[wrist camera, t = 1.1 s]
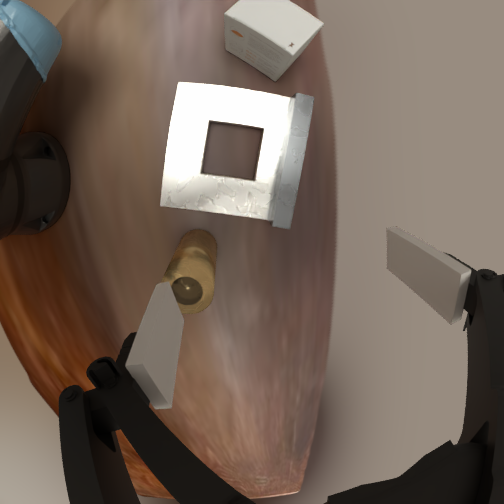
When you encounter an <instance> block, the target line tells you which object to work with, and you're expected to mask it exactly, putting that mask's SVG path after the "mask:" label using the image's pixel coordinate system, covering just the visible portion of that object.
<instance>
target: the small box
mask: <svg viewBox="0 0 504 504" xmlns="http://www.w3.org/2000/svg"><path fill="white" fill-rule="evenodd" d="M323 25H324V23H323V22H321V21H320V20H318V19H317V18H316V17H314V16H313V15H311V14H310V13H308V12H307V11H305V10H304V9H302V8H300V7H299V6H297V5H296V4H294V3H292V2H291V1H289V0H239V1H238V2H237V3H235V4H234V5H233V6H232V7H231V8H230V9H229V10H228V11H226V12H225V13H224V27H225V50H227V51H228V52H230V53H232V54H233V55H235V56H237V57H238V58H240V59H242V60H243V61H245V62H246V63H248V64H250V65H251V66H253V67H254V68H256V69H257V70H259V71H260V72H262V73H263V74H265V75H266V76H268V77H269V78H271V79H272V80H273V81H275V82H276V81H277V80H278V79H279V78H280V76H281V75H282V74H283V73H284V72H285V71H286V70H287V69H288V68H289V67H290V66H291V64H292V63H293V62H294V61H295V60H296V59H297V58H298V57H299V56H300V54H301V53H302V52H303V51H304V49H305V48H306V47H307V45H308V44H309V43H310V42H311V40H312V39H313V38H314V36H315V35H316V34H317V33H318V32H319V30H320V29H321V28H322V27H323Z"/></svg>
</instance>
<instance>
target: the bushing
mask: <svg viewBox="0 0 504 504" xmlns="http://www.w3.org/2000/svg"><path fill="white" fill-rule="evenodd" d="M216 257H217V243H216V240H215V238H214V237H213V236H212V235H211V234H210V233H209V232H207V231H204V230H200V229H195V230H191V231H189V232H187V233H186V234H185V235H184V236H183V237H182V239H181V241H180V243H179V245H178V247H177V249H176V251H175V253H174V256H173V258H172V260H171V262H170V264H169V266H168V268H167V270H166V272H165V275H164V277H163V279H162V281H161V283H163V282H168V281H169V283H170V286H171V288H172V291H173V294H174V296H175V299H176V301H177V304H178V306H179V309H180V311H181V313H183V314H195V313H199V312H201V311H203V310H204V309H206V308H207V307H208V306H209V305H210V303H211V301H212V299H213V295H214V282H215V269H216Z"/></svg>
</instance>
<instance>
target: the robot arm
mask: <svg viewBox="0 0 504 504" xmlns="http://www.w3.org/2000/svg"><path fill="white" fill-rule="evenodd" d="M61 46H62V38H61V35H60V33H59V31H58V30H57V28H56V27H55V26H54V25H53V24H52V23H51V22H50V21H49V20H48V19H47V18H45V17H44V16H43V15H42V14H40V13H39V12H38V11H36V10H35V9H33V8H32V7H30V6H29V5H27V4H25V3H24V2H22V1H20V0H0V240H1V239H3V238H4V237H6V236H8V235H10V234H12V235H31V234H36V233H39V232H42V231H43V230H45V229H47V228H49V227H51V226H52V225H53V224H54V223H55V222H56V221H57V220H58V219H59V217H60V216H61V214H62V213H63V211H64V208H65V206H66V203H67V200H68V195H69V189H70V171H69V165H68V161H67V157H66V155H65V152H64V150H63V148H62V147H61V145H60V144H59V142H58V141H57V140H56V139H55V138H54V137H52V136H51V135H49V134H47V133H44V132H27V133H24V134H21V135H19V133H20V131H21V128H22V126H23V124H24V121H25V119H26V117H27V114H28V112H29V110H30V108H31V106H32V104H33V102H34V100H35V98H36V96H37V94H38V92H39V90H40V88H41V86H42V84H43V83H45V81H46V79H47V74H48V72H49V70H50V68H51V66H52V65H53V63H54V61H55V59H56V57H57V56H58V54H59V52H60V50H61ZM387 269H388V270H389V271H390V272H392V273H393V274H394V275H395V276H396V277H398V278H399V279H400V280H401V281H403V282H404V283H405V284H406V285H407V286H408V287H409V288H411V289H412V290H413V291H414V292H415V293H416V294H417V295H419V296H420V297H421V298H422V299H423V300H424V301H425V302H427V303H428V304H429V305H430V306H431V307H432V308H433V309H434V310H436V312H438V313H439V314H440V315H441V316H442V317H443V318H444V319H445V320H446V321H447V322H448V323H449V324H450V325H452V324H453V323H455V322H457V321H459V320H460V319H461V317H462V313H463V309H465V310H466V311H467V312H468V314H467V318H466V322H465V325H464V329H463V331H465V329H466V328H467V338H468V379H467V396H466V407H465V416H464V424H463V430H462V434H461V437H460V439H459V441H458V443H457V444H456V445H453V444H452V442H451V441H450V440H449V441H448V442H446V443H444V444H443V445H441V446H440V447H438V448H436V449H435V450H433V451H431V452H430V453H428V454H426V455H425V456H423V457H422V458H421V459H420V460H419V461H418V462H417V463H416V464H414V465H413V466H412V467H411V468H410V469H408V470H407V471H406V472H405V473H403V474H402V475H401V476H399V477H397V478H394V479H390V480H385V481H381V482H375V483H371V484H364V485H360V486H358V487H355V488H352V489H349V490H347V491H343V492H340V493H337V494H334V495H331V496H328V500H327V502H326V503H324V504H504V274H502V275H497V273H495V272H494V271H492V270H489V269H481V270H478V271H476V270H474V269H473V268H471V267H470V266H468V265H467V264H465V263H464V262H461V261H460V260H459V259H456V258H455V257H454V256H452V255H450V254H447V253H444V252H442V251H440V250H438V249H437V248H435V247H433V246H432V245H430V244H428V243H426V242H425V241H423V240H421V239H419V238H417V237H416V236H414V235H412V234H410V233H408V232H406V231H405V230H403V229H401V228H399V227H397V226H395V227H390V228H387ZM183 325H184V319H183V316H182V314H181V311H180V309H179V306H178V304H177V301H176V299H175V296H174V294H173V291H172V288H171V286H170V283H169V281H168V282H163V283H159V284H156V287H155V289H154V291H153V294H152V296H151V299H150V301H149V303H148V306H147V308H146V311H145V313H144V316H143V319H142V321H141V324H140V326H139V329H138V332H134V333H130V334H129V336H128V337H127V338H126V339H125V340H124V343H123V345H122V349H121V350H120V354H119V355H118V358H117V360H116V363H115V361H114V360H113V359H112V358H111V357H101V358H99V359H97V360H95V361H94V362H92V363H91V364H90V366H89V367H88V369H87V372H86V373H87V377H88V378H89V380H90V381H91V382H92V384H93V385H94V386H95V387H96V388H95V389H92V390H89V391H86V392H84V391H83V389H82V388H81V387H80V386H78V385H72V386H69V387H67V388H66V389H64V390H63V391H62V393H61V395H60V397H59V427H60V441H61V452H62V459H63V460H62V461H63V468H64V475H65V481H66V486H67V492H68V497H69V501H70V504H140V501H139V499H138V497H137V494H136V492H135V489H134V487H133V484H132V481H131V479H130V476H129V473H128V471H127V468H126V465H125V462H124V459H123V456H122V453H121V449H120V446H119V443H118V439H117V436H116V432H115V431H116V430H120V429H121V430H122V432H123V433H124V435H125V436H126V438H127V439H128V441H129V442H130V443H131V445H132V446H133V448H134V449H135V450H136V452H137V453H138V455H139V456H140V457H141V459H142V460H143V461H144V463H145V464H146V465H147V466H148V468H149V469H150V470H151V471H152V473H153V474H154V475H155V476H156V478H157V479H158V480H159V481H160V482H161V483H162V485H163V486H164V487H165V488H166V489H167V490H168V491H169V492H170V494H171V495H172V496H173V497H174V498H175V499H176V500H177V501H178V502H179V503H180V504H256V503H254V502H253V501H251V500H250V499H249V498H247V497H246V496H244V495H242V494H241V493H239V492H238V491H236V490H235V489H234V488H233V487H231V486H230V485H229V484H228V483H226V482H225V481H224V480H223V479H221V478H220V477H219V476H218V475H217V474H215V473H214V472H213V471H212V470H211V469H210V468H208V467H207V466H206V465H205V464H204V463H203V462H202V461H201V460H199V459H198V458H197V457H196V456H195V455H194V454H193V453H192V452H191V451H190V450H189V449H188V448H187V447H186V446H185V445H184V444H183V443H182V442H181V441H180V440H179V439H178V438H177V437H176V436H175V435H174V434H173V433H172V432H171V431H170V430H169V429H168V428H167V427H166V426H165V425H164V423H163V422H162V421H161V420H160V419H159V418H158V417H157V416H156V415H155V413H154V412H153V411H152V410H151V409H150V408H149V403H151V404H152V405H153V407H154V408H155V409H166V408H172V401H173V393H174V385H175V378H176V370H177V363H178V357H179V350H180V344H181V338H182V331H183Z"/></svg>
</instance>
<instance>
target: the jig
mask: <svg viewBox="0 0 504 504" xmlns="http://www.w3.org/2000/svg"><path fill="white" fill-rule="evenodd" d="M313 103H314V97H312V96H308V95H304V94H300V93H296V94H294V95H293V96H292V97H291V98H289V97H284V96H280V95H275V94H270V93H265V92H259V91H254V90H248V89H241V88H234V87H227V86H219V85H210V84H199V83H186V82H178V87H177V92H176V97H175V102H174V107H173V113H172V119H171V124H170V130H169V137H168V143H167V150H166V158H165V165H164V174H163V182H162V192H161V202H160V206H165V207H173V208H182V209H190V210H199V211H207V212H214V213H222V214H230V215H237V216H244V217H251V218H258V219H265V220H269V222H270V224H271V225H272V227H279V228H286V229H290V226H291V221H292V216H293V212H294V207H295V202H296V197H297V191H298V186H299V181H300V176H301V171H302V165H303V160H304V155H305V149H306V144H307V138H308V132H309V127H310V121H311V115H312V109H313ZM210 122H213V123H221V124H229V125H236V126H243V127H249V128H255V129H261V130H262V132H261V138H260V144H259V150H258V155H257V161H256V167H255V173H254V179H247V178H240V177H233V176H226V175H219V174H211V173H203V172H202V169H203V163H204V156H205V150H206V143H207V137H208V131H209V125H210Z"/></svg>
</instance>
